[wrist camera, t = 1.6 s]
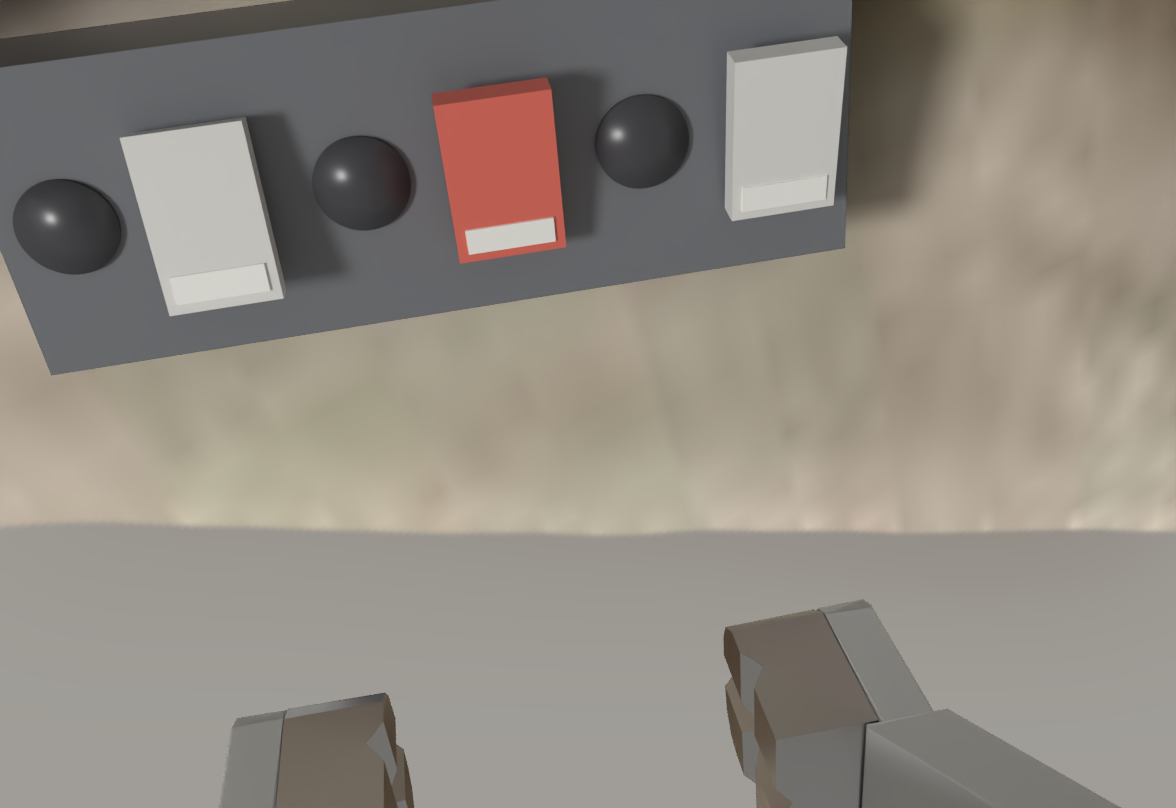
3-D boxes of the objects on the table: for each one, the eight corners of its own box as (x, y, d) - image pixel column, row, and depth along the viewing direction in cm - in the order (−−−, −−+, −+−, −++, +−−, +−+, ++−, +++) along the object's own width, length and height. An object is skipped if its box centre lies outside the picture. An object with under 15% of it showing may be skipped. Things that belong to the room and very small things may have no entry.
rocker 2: (837, 36, 31) (848, 48, 30) (824, 192, 34) (834, 206, 34) (726, 51, 31) (735, 64, 30) (724, 207, 34) (732, 222, 33)
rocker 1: (245, 116, 30) (241, 120, 29) (286, 290, 32) (283, 298, 31) (126, 133, 30) (118, 138, 29) (175, 308, 32) (169, 317, 31)
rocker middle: (546, 77, 30) (551, 90, 30) (562, 233, 33) (566, 248, 33) (431, 93, 30) (433, 107, 29) (457, 249, 33) (460, 264, 32)
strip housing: (806, -68, 34) (855, -47, 31) (803, 204, 39) (846, 250, 35) (-23, 42, 32) (-72, 78, 28) (81, 317, 37) (50, 378, 33)
